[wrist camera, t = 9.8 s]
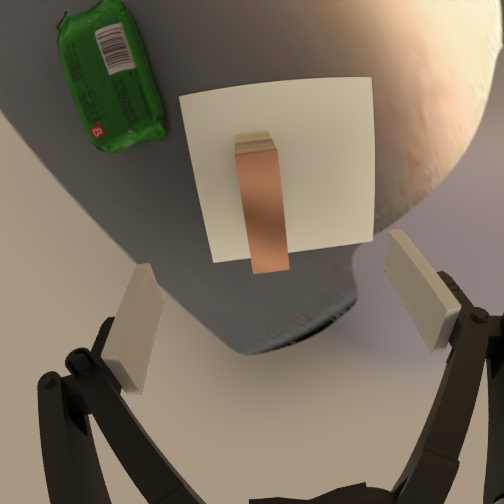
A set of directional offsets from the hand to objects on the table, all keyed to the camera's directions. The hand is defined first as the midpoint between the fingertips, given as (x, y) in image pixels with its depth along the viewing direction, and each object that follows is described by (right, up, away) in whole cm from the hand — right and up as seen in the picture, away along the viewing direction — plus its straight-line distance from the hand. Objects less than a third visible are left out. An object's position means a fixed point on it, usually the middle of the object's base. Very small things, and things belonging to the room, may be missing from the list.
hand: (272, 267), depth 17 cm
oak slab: (0, +8, +14) cm, 16 cm away
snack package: (-14, +18, +8) cm, 24 cm away
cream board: (+2, +9, +14) cm, 16 cm away
